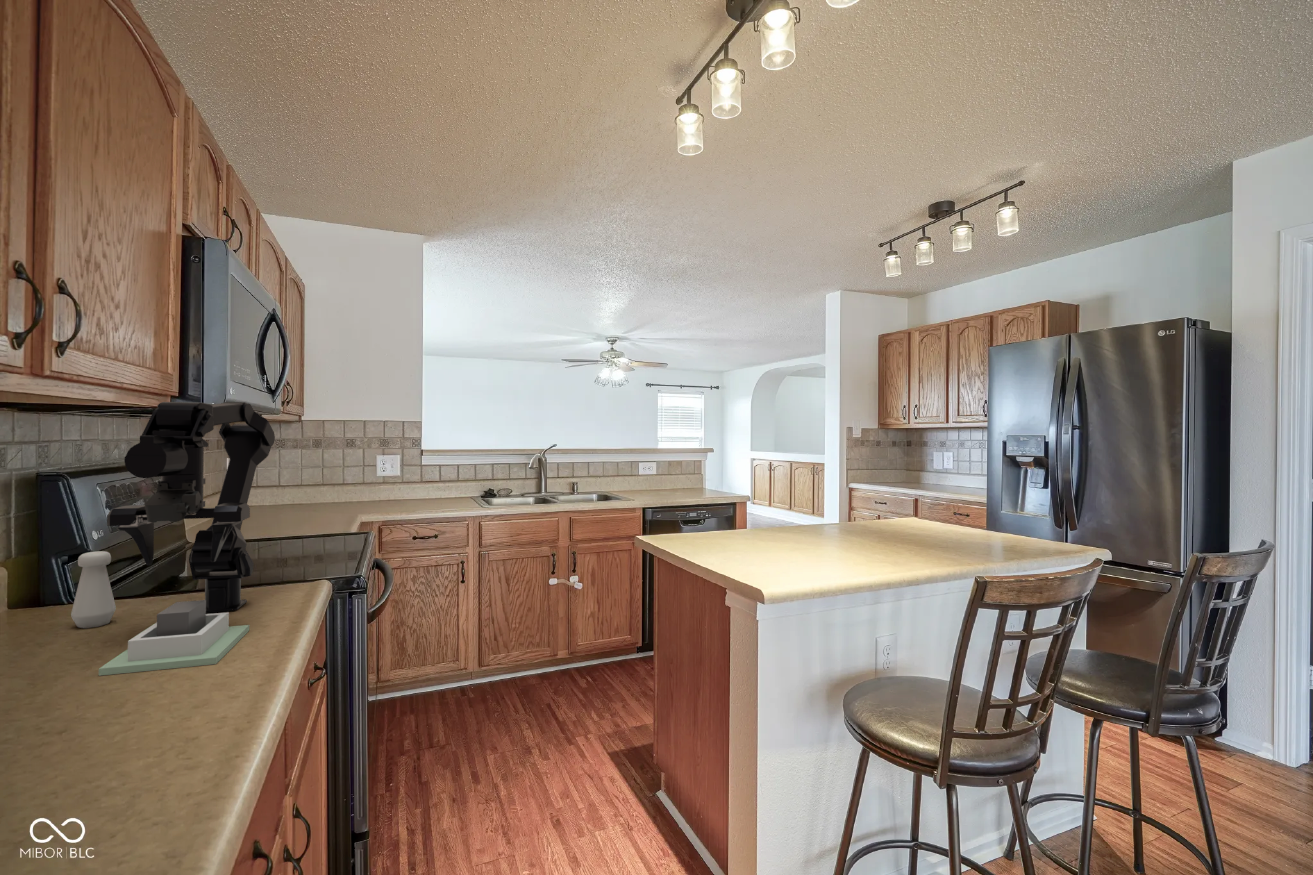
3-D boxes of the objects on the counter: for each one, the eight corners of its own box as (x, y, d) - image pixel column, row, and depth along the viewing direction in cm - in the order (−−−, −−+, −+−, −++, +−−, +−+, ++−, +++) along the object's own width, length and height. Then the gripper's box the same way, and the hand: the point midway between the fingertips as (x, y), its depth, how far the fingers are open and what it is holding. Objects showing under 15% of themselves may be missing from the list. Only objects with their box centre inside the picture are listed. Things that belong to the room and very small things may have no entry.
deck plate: (151, 638, 99) (151, 615, 99) (249, 630, 103) (249, 607, 103) (98, 675, 84) (98, 647, 84) (216, 663, 88) (216, 637, 88)
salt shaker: (65, 626, 104) (66, 553, 104) (107, 617, 109) (108, 548, 109) (79, 631, 102) (80, 556, 102) (121, 622, 107) (122, 551, 107)
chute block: (176, 638, 96) (176, 601, 96) (205, 636, 97) (205, 599, 97) (156, 653, 89) (157, 614, 89) (188, 650, 91) (188, 611, 91)
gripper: (88, 478, 92) (87, 578, 92) (230, 476, 98) (229, 570, 98) (124, 473, 102) (124, 562, 102) (251, 472, 108) (250, 556, 109)
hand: (182, 563), depth 102 cm, fingers open, 9 cm apart
